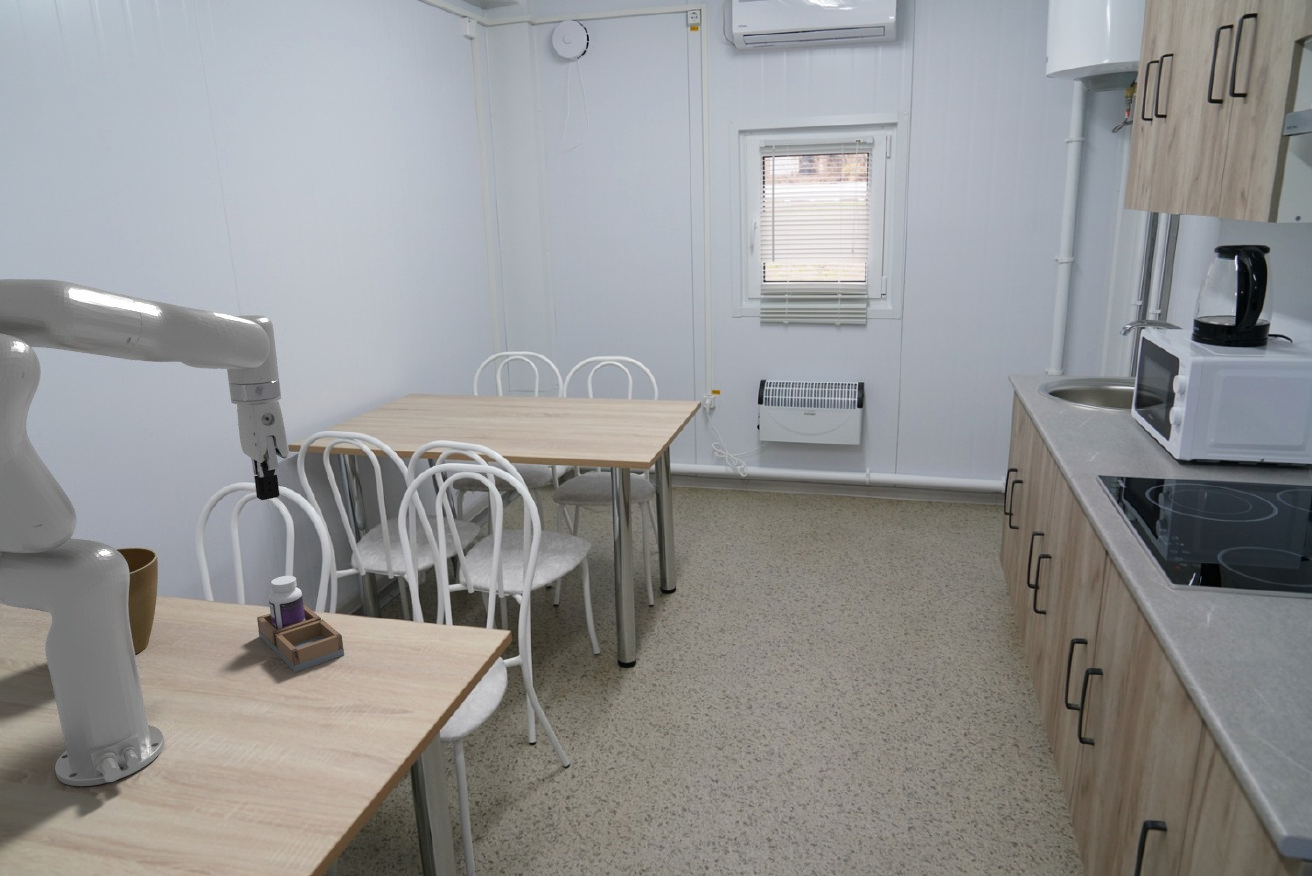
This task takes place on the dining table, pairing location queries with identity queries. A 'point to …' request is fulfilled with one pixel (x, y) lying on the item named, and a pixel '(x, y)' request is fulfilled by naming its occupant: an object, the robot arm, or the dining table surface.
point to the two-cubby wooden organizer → (302, 641)
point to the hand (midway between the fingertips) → (268, 497)
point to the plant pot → (141, 593)
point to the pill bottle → (286, 602)
